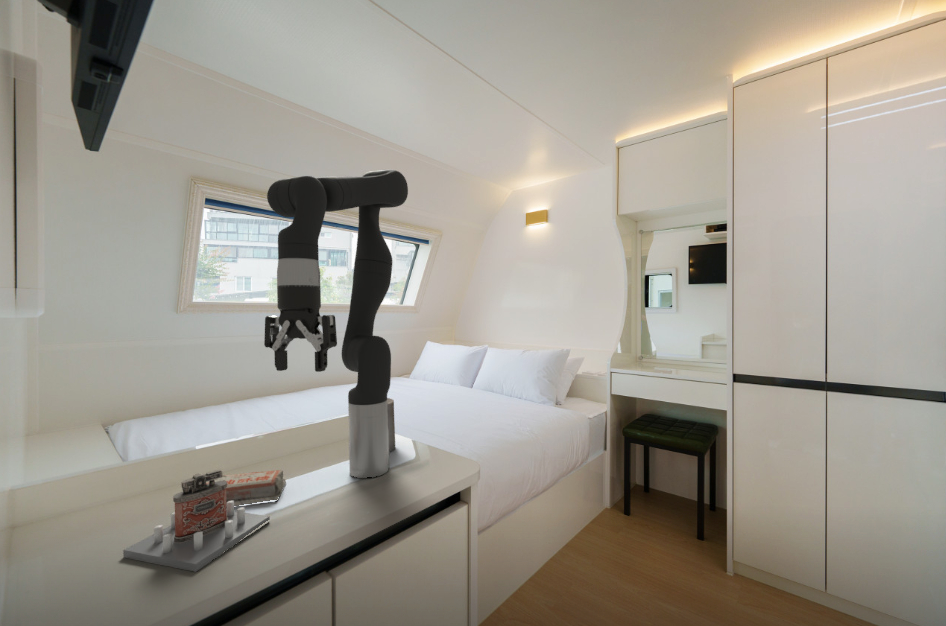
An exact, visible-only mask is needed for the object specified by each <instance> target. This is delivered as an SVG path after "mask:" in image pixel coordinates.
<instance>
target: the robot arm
mask: <svg viewBox="0 0 946 626" xmlns="http://www.w3.org/2000/svg"><path fill="white" fill-rule="evenodd" d="M408 187H409V186H408V182H407V179H406V177H405V176H404V175H403V173H402V172H400V171H398V170H395V169H382V170H381V169H380V170H373V171H372V170H370V171H367V172H365V173H363V174H362V176H349V175H348V176H346V175H345V176H344V175H343V176H342V175H341V176H340V175H335V176H333V175H332V176H329V175H328V176H327V175H326V176H320V177H314V176H312V175H300V176H299V175H298V176H293V177H289V178H288V177H287V178H282V179H279V180H277V181H274V182H273V183H272V184H271V185H270V186H269V188H268V190H267V194H266V199H267V203H268V205H269V207H270V209H271V210H272V211H273V212H275V213H276V214H277V215H279V216H280V217H283V218H293V220H292V222H291V223H290V225H288V226H286V227H285V228H284V227H283V228H282V229H281V230H279V232H278V234H277V235H278V236H277V257H278V258H277V268H276V269H277V270H276V289H277V290H276V291H277V292H276V293H277V294H276V295H277V308H278V310H279V316H278V315H267V316H265V319H264V341H263V343H264V345H263V346H264V347H265V348H270V349H271V350H273V351H274V367H275V368H276V371H277V372H281V371H287V369H288V367H289V366H288V350H286V349H287V348H288V346H289V344H290V343H291V342H292V341H294V339H300V340H303V339H306V340H307V342H308V343H310V344H311V345H312V346H313V348H314V349H315V351H314V370H315V372H318V373H319V372H325V371H326V369H327V368H328V350H329V349H331V348H335V347H337V346H338V341H337V340H338V337H337V324H336V316H335V315H334V314H323V315H320V309H321V307H322V304H321V303H322V302H321V301H322V298H321V297H322V295H321V271H320V270H321V269H320V268H321V267H320V262H319V238H320V233H321V231H322V227H323V222H324V220H325V219H324V218H325V215H326V212H327V213H330V212H338V211H345V210H349V209H355V208H358V226H357V227H358V228H357V241H356V249H355V250H356V251H355V255H354V256H355V257H354V264H353V275H352V287H351V294H350V302H349V303H350V304H349V311H348V312H349V313H348V318H347V322H346V328H345V331H344V337H343V341H342V347H341V360H342V363H343V365H344V367H346V369H348V371H351V372H354V373H357V380H356V381H357V382H356V385H355V387H352V388H351V389H350V390H348V395H347V402H348V407H347V409H348V446H349V447H348V452H349V455H348V456H349V457H348V459H349V460H348V461H349V463H348V464H349V475H350V476H351V477H353V476H354V477H353V478H356V477H357V478H356V479H368V478H367V477H372V478H376V476H377V477H379V476H382V475H385V474H386V473H387V472H388V471H389V466H390V452H389V430H388V414H387V398H388V393H389V392H390V391H389V390H390V387H391V377H392V376H391V374H392V373H391V371H392V353H391V348H390V345H389V343H388V341H387V339H385V338H383V337H381V336H379V335H374V325H375V320H376V315H377V313H378V311H379V309H380V307H381V304H383V301H384V299H385V297H386V295H387V293H388V291H389V289H390V285H391V282H392V274H393V273H392V271H393V257H392V253H391V250H390V248H389V246H388V244H387V242H386V241H385V238H384V236H383V234H382V232H381V229H380V228H381V227H380V213H381V209H384V208H385V209H387V208H389V209H390V208H398V207H400V206H402V205H403V204H405V202H406V200H407V199H408V194H409V188H408ZM320 326H321V329H322V330H320V328H319V327H320ZM280 327H281V329H280Z"/></svg>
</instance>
